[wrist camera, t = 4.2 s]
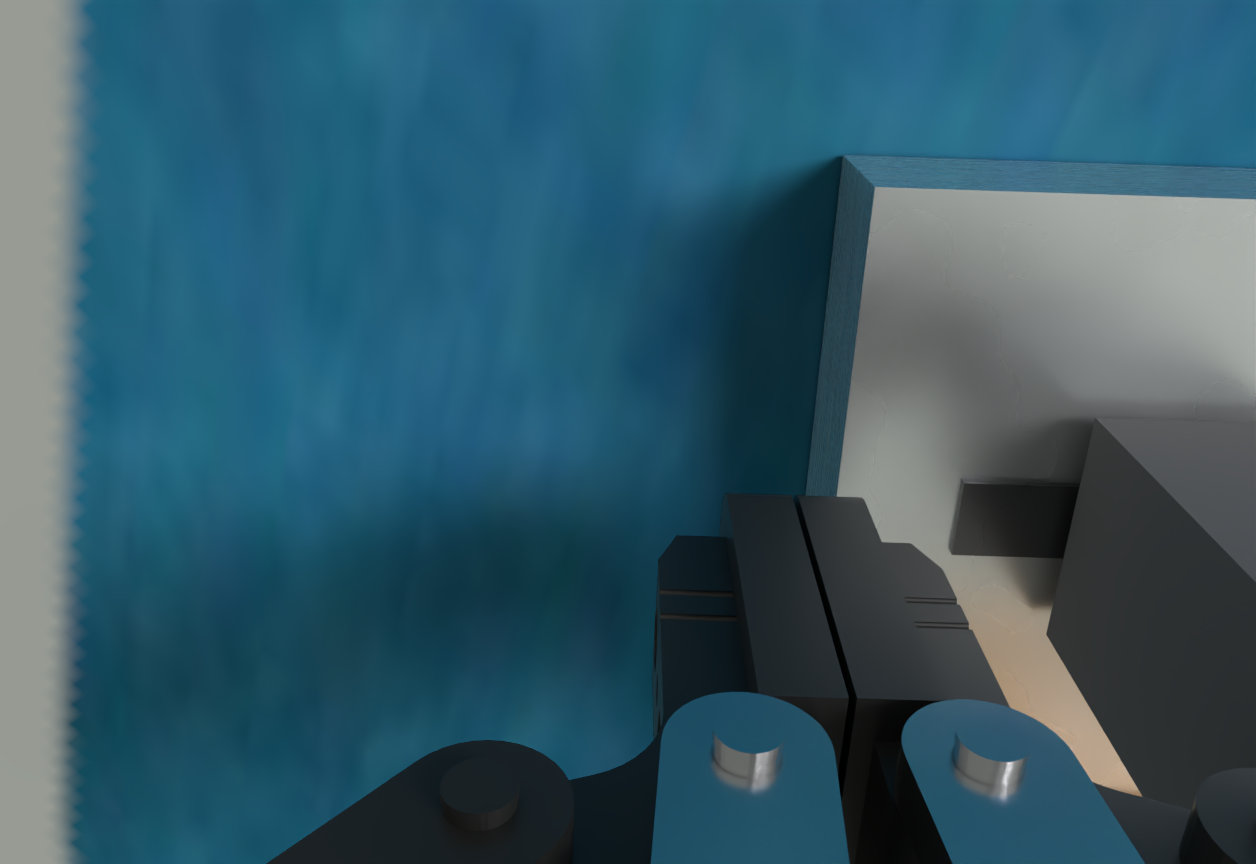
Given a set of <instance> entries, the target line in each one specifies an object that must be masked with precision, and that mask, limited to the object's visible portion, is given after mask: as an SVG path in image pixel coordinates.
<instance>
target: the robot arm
mask: <svg viewBox="0 0 1256 864" xmlns="http://www.w3.org/2000/svg"><path fill="white" fill-rule="evenodd" d="M652 687H653V736H654V740H653V742H652V743H651V744H650V745H649V746H648V747H647V748H646V749H645V750H644V751H643V752H642V753H640V754H639V755H638V756H637V757H635V758H634V759H632V760H630V761H629V762H627V763H625V764H624V765H621V766H619V767H617V768H614V769H612V770H609V771H606V772H602V773H599V774H595V775H591V776H586V777H582V778H577V779H573V780H568V778H567V777H566V775H565V774H564V772H563V771H562V770H561V769H560V767H559V766H558V765H557V764H556V763H555V762H553V761H552V760H551V759H549V758H548V757H547V756H545V755H544V754H542V753H540V752H538V751H536V750H534V749H532V748H529V747H526V746H523V745H520V744H516V743H511V742H505V741H494V740H482V741H470V742H464V743H458V744H455V745H451V746H448V747H444V748H442V749H439V750H437V751H435V752H432V753H430V754H428V755H426V756H425V757H423V758H421V759H420V760H418V761H416V762H415V763H413V764H412V765H410V766H409V767H407V768H406V769H405V770H403V771H402V772H400V773H399V774H397V775H396V776H394V777H393V778H391V779H390V780H388V781H387V782H385V783H384V784H383V785H381V786H380V787H378V788H377V789H375V790H374V791H372V792H371V793H369V794H368V795H366V796H365V797H363V798H362V799H361V800H359V801H358V802H356V803H355V804H353V805H352V806H350V807H349V808H347V809H346V810H344V811H343V812H341V813H340V814H339V815H337V816H336V817H334V818H333V819H331V820H330V821H328V822H327V823H325V824H324V825H322V826H321V827H319V828H318V829H317V830H315V831H314V832H312V833H311V834H309V835H308V836H306V837H305V838H303V839H302V840H300V841H299V842H298V843H296V844H295V845H293V846H292V847H290V848H289V849H287V850H286V851H284V852H283V853H281V854H280V855H278V856H277V857H276V858H274V859H273V860H271V861H270V862H268V863H267V864H1256V768H1235V769H1228V770H1224V771H1221V772H1218V773H1215V774H1213V775H1212V776H1210V777H1208V778H1207V779H1206V780H1205V781H1204V782H1203V783H1202V784H1201V785H1200V787H1199V789H1198V792H1197V794H1196V797H1195V800H1194V803H1193V807H1192V810H1191V809H1187V808H1183V807H1180V806H1176V805H1172V804H1168V803H1164V802H1160V801H1156V800H1152V799H1148V798H1144V797H1140V796H1136V795H1132V794H1129V793H1125V792H1121V791H1118V790H1114V789H1111V788H1108V787H1104V786H1102V785H1099V784H1097V783H1094V782H1092V781H1091V779H1090V778H1089V776H1088V774H1087V773H1086V771H1085V770H1084V768H1083V767H1082V765H1081V764H1080V762H1079V761H1078V759H1077V758H1076V756H1075V754H1074V753H1073V752H1072V750H1071V749H1070V748H1069V746H1068V745H1067V744H1066V743H1065V742H1064V741H1063V740H1062V739H1061V738H1060V737H1059V736H1058V735H1057V734H1056V733H1055V732H1054V731H1052V730H1051V729H1050V728H1048V727H1047V726H1046V725H1044V724H1042V723H1041V722H1039V721H1037V720H1036V719H1034V718H1032V717H1030V716H1028V715H1026V714H1024V713H1022V712H1020V711H1017V710H1014V709H1012V708H1010V706H1009V704H1008V702H1007V700H1006V698H1005V696H1004V694H1003V691H1002V689H1001V687H1000V685H999V683H998V681H997V679H996V677H995V675H994V673H993V671H992V669H991V667H990V665H989V663H988V661H987V659H986V657H985V655H984V653H983V651H982V649H981V647H980V645H979V642H978V640H977V638H976V636H975V634H974V632H973V630H970V629H969V622H968V620H967V618H966V616H965V614H964V612H963V610H962V608H961V606H960V605H957V598H956V596H955V593H954V591H953V589H952V587H951V585H950V583H949V581H948V579H947V577H946V575H945V573H944V571H943V569H942V568H941V567H939V566H938V565H937V564H936V563H934V562H933V561H932V560H931V559H930V558H928V557H927V556H926V555H925V554H923V553H922V552H921V551H920V550H919V549H917V548H916V547H915V546H914V545H912V544H911V543H890V542H881V539H880V537H879V534H878V532H877V529H876V527H875V524H874V522H873V520H872V517H871V515H870V512H869V510H868V507H867V505H866V503H865V501H864V499H863V498H861V497H837V496H808V495H795V496H794V498H792V496H791V495H773V494H744V493H725V494H724V496H723V501H722V508H721V519H720V532H719V537H708V536H678V535H677V536H676V537H675V539H674V540H673V541H672V543H671V544H670V545H669V547H668V548H667V549H666V551H665V552H664V553H663V554H662V556H661V557H660V558H659V560H658V577H657V596H656V615H655V634H654V653H653V672H652Z"/></svg>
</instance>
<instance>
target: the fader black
mask: <svg viewBox="0 0 1256 864" xmlns="http://www.w3.org/2000/svg"><path fill="white" fill-rule="evenodd" d="M1046 635H1047V637H1048V638H1049V640H1050V642H1051V644H1052V645H1053V647H1054V649H1055V650H1056V652H1057V654H1058V655H1059V657H1060V659H1061V660H1062V662H1063V664H1064V665H1065V667H1066V669H1067V670H1068V672H1069V674H1070V675H1071V677H1072V679H1073V681H1074V682H1075V684H1076V686H1077V687H1078V689H1079V691H1080V692H1081V694H1082V696H1083V697H1084V699H1085V701H1086V702H1087V704H1088V706H1089V707H1090V709H1091V711H1092V712H1093V714H1094V716H1095V718H1096V719H1097V721H1098V723H1099V724H1100V726H1101V728H1102V729H1103V731H1104V733H1105V734H1106V736H1107V738H1108V739H1109V741H1110V743H1111V744H1112V746H1113V748H1114V749H1115V751H1116V753H1117V754H1118V756H1119V758H1120V760H1121V761H1122V763H1123V765H1124V766H1125V768H1126V770H1127V771H1128V773H1129V775H1130V776H1131V778H1132V780H1133V781H1134V783H1135V785H1136V786H1137V788H1138V790H1139V791H1140V793H1141V795H1142V797H1144V798H1148V799H1152V800H1156V801H1160V802H1164V803H1168V804H1172V805H1176V806H1180V807H1183V808H1187V809H1191V810H1192V807H1193V803H1194V800H1195V797H1196V794H1197V792H1198V789H1199V787H1200V785H1201V784H1202V783H1203V782H1204V781H1205V780H1206V779H1207V778H1208V777H1210V776H1212V775H1213V774H1215V773H1218V772H1221V771H1224V770H1228V769H1235V768H1256V423H1250V422H1219V421H1187V420H1156V419H1124V418H1095V421H1094V425H1093V430H1092V434H1091V439H1090V443H1089V447H1088V452H1087V456H1086V461H1085V465H1084V469H1083V474H1082V478H1081V483H1080V487H1079V492H1078V496H1077V500H1076V505H1075V509H1074V514H1073V518H1072V522H1071V527H1070V531H1069V536H1068V540H1067V544H1066V549H1065V553H1064V558H1063V562H1062V567H1061V571H1060V575H1059V580H1058V584H1057V589H1056V593H1055V597H1054V602H1053V606H1052V611H1051V615H1050V620H1049V624H1048V628H1047V633H1046Z"/></svg>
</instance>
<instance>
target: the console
mask: <svg viewBox="0 0 1256 864" xmlns="http://www.w3.org/2000/svg"><path fill="white" fill-rule="evenodd" d="M1095 418H1124V419H1156V420H1187V421H1219V422H1250V423H1256V168H1228V167H1198V166H1167V165H1137V164H1106V163H1076V162H1045V161H1015V160H984V159H954V158H923V157H893V156H862V155H843V160H842V169H841V178H840V187H839V196H838V205H837V214H836V223H835V232H834V241H833V251H832V260H831V269H830V278H829V287H828V296H827V305H826V314H825V323H824V332H823V341H822V350H821V359H820V368H819V377H818V387H817V396H816V405H815V414H814V423H813V432H812V441H811V450H810V459H809V468H808V477H807V486H806V495H808V496H837V497H861V498H863V499H864V501H865V503H866V505H867V507H868V510H869V512H870V515H871V517H872V520H873V522H874V524H875V527H876V529H877V532H878V534H879V537H880V539H881V542H890V543H911V544H912V545H914V546H915V547H916V548H917V549H919V550H920V551H921V552H922V553H923V554H925V555H926V556H927V557H928V558H930V559H931V560H932V561H933V562H934V563H936V564H937V565H938V566H939V567H941V568H942V569H943V571H944V573H945V575H946V577H947V579H948V581H949V583H950V585H951V587H952V589H953V591H954V593H955V596H956V598H957V605H960V606H961V608H962V610H963V612H964V614H965V616H966V618H967V620H968V622H969V629H970V630H973V632H974V634H975V636H976V638H977V640H978V642H979V645H980V647H981V649H982V651H983V653H984V655H985V657H986V659H987V661H988V663H989V665H990V667H991V669H992V671H993V673H994V675H995V677H996V679H997V681H998V683H999V685H1000V687H1001V689H1002V691H1003V694H1004V696H1005V698H1006V700H1007V702H1008V704H1009V706H1010V708H1012V709H1014V710H1017V711H1020V712H1022V713H1024V714H1026V715H1028V716H1030V717H1032V718H1034V719H1036V720H1037V721H1039V722H1041V723H1042V724H1044V725H1046V726H1047V727H1048V728H1050V729H1051V730H1052V731H1054V732H1055V733H1056V734H1057V735H1058V736H1059V737H1060V738H1061V739H1062V740H1063V741H1064V742H1065V743H1066V744H1067V745H1068V746H1069V748H1070V749H1071V750H1072V752H1073V753H1074V754H1075V756H1076V758H1077V759H1078V761H1079V762H1080V764H1081V765H1082V767H1083V768H1084V770H1085V771H1086V773H1087V774H1088V776H1089V778H1090V779H1091V781H1092V782H1094V783H1097V784H1099V785H1102V786H1104V787H1108V788H1111V789H1114V790H1118V791H1121V792H1125V793H1129V794H1132V795H1136V796H1140V797H1142V795H1141V793H1140V791H1139V790H1138V788H1137V786H1136V785H1135V783H1134V781H1133V780H1132V778H1131V776H1130V775H1129V773H1128V771H1127V770H1126V768H1125V766H1124V765H1123V763H1122V761H1121V760H1120V758H1119V756H1118V754H1117V753H1116V751H1115V749H1114V748H1113V746H1112V744H1111V743H1110V741H1109V739H1108V738H1107V736H1106V734H1105V733H1104V731H1103V729H1102V728H1101V726H1100V724H1099V723H1098V721H1097V719H1096V718H1095V716H1094V714H1093V712H1092V711H1091V709H1090V707H1089V706H1088V704H1087V702H1086V701H1085V699H1084V697H1083V696H1082V694H1081V692H1080V691H1079V689H1078V687H1077V686H1076V684H1075V682H1074V681H1073V679H1072V677H1071V675H1070V674H1069V672H1068V670H1067V669H1066V667H1065V665H1064V664H1063V662H1062V660H1061V659H1060V657H1059V655H1058V654H1057V652H1056V650H1055V649H1054V647H1053V645H1052V644H1051V642H1050V640H1049V638H1048V637H1047V635H1046V633H1047V628H1048V624H1049V620H1050V615H1051V611H1052V606H1053V602H1054V597H1055V593H1056V589H1057V584H1058V580H1059V575H1060V571H1061V567H1062V562H1063V558H1064V553H1065V549H1066V544H1067V540H1068V536H1069V531H1070V527H1071V522H1072V518H1073V514H1074V509H1075V505H1076V500H1077V496H1078V492H1079V487H1080V483H1081V478H1082V474H1083V469H1084V465H1085V461H1086V456H1087V452H1088V447H1089V443H1090V439H1091V434H1092V430H1093V425H1094V421H1095Z"/></svg>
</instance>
